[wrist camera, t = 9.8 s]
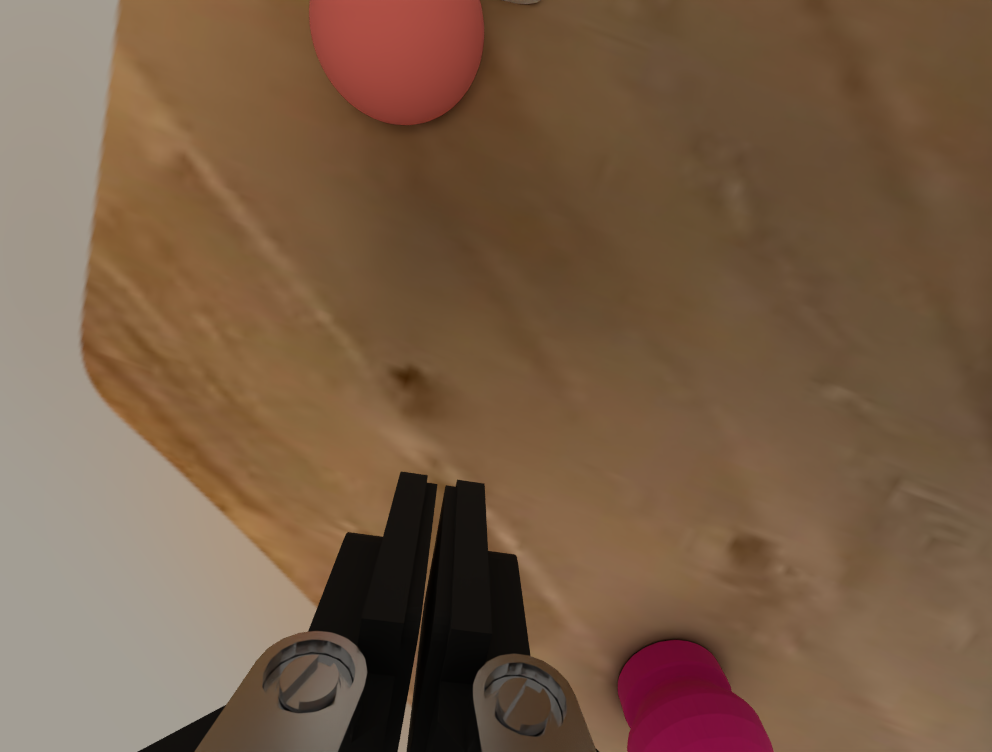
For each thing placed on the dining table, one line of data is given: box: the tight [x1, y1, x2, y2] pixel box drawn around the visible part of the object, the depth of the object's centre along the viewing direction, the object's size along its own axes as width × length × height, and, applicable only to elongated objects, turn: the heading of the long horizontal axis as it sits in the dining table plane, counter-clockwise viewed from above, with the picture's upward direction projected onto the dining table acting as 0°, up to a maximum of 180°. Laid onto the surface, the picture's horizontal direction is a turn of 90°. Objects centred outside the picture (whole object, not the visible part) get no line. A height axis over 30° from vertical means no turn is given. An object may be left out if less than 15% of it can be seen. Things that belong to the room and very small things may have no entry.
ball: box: [309, 0, 484, 125], centre depth 19 cm, size 6×6×6 cm
